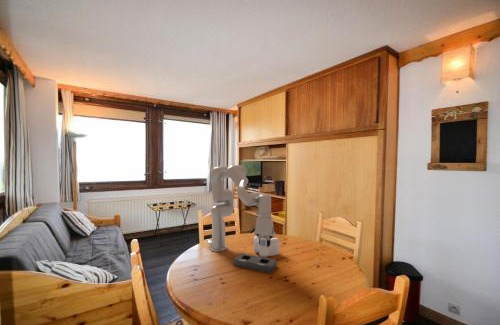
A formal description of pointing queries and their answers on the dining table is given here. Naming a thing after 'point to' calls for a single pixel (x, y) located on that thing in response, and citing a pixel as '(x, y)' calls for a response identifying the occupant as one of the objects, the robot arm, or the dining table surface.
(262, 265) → the jack panel
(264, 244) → the plug
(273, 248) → the cable organizer
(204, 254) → the dining table surface
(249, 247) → the dining table surface
